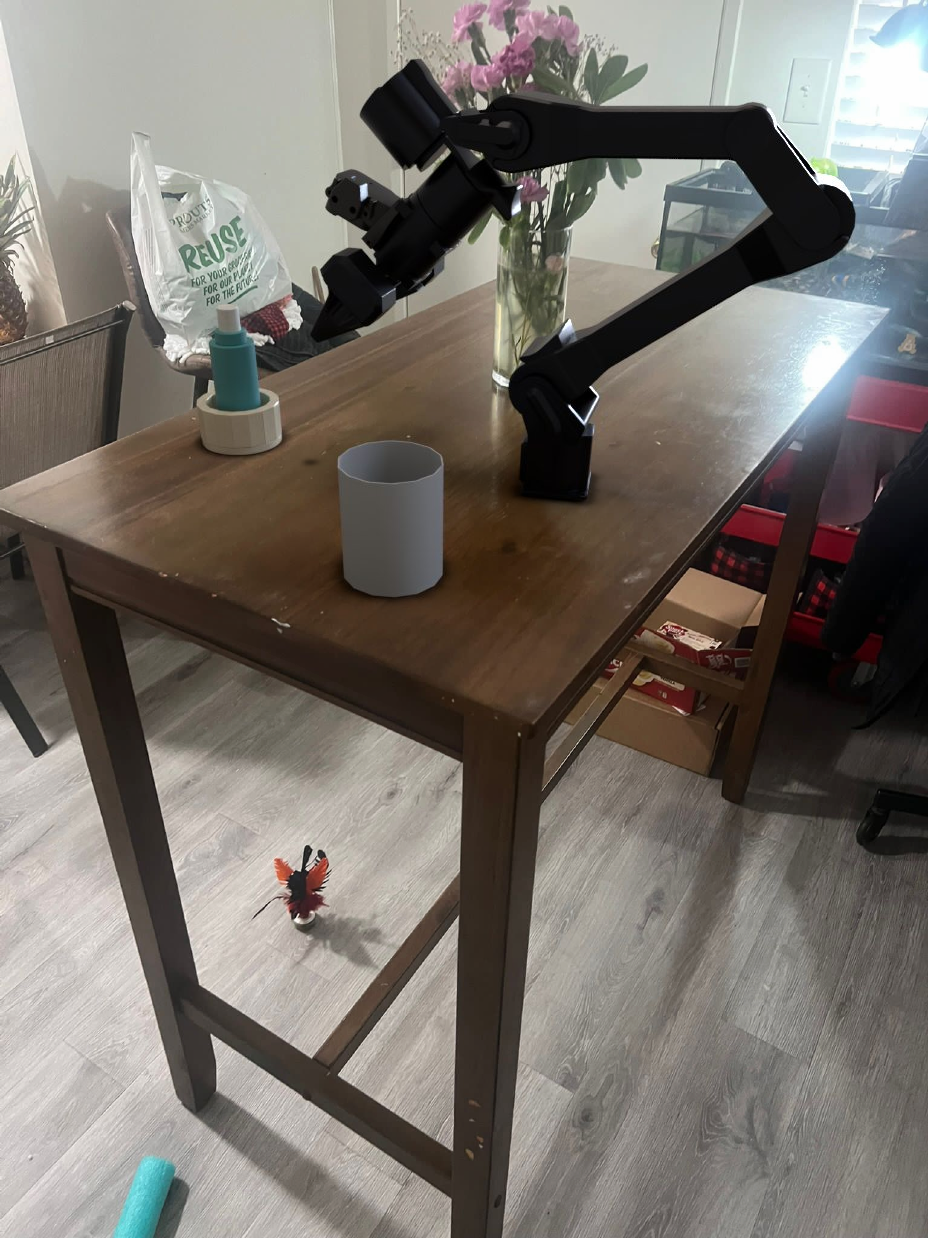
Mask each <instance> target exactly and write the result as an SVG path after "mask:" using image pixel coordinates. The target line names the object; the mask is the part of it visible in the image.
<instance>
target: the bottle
mask: <svg viewBox="0 0 928 1238" xmlns="http://www.w3.org/2000/svg"><path fill="white" fill-rule="evenodd" d="M215 310H216V311H215V312H216V318H217V325H218V326H217V327H216V328H214V330H213V334H214V337H213V338H211V339H210V340H209V341H208V349H209V357H210V358H209V359H210V364H211V372H212V379H213V380H212V381H213V386H214V390H215V395H216V403H217V410H219V411H228V412H239V411H248V410H253V409H257V408H259V407H261V402H260V393H259V388H260V385H259V376H258V375H259V374H258V365H257V355H256V347H255V345H256V344H255V340H254V338H252V337H250V336H247V329H246V328H245V327H243V326H241V318H240V310H239V305H237V304H232V303H225V304H224V303H223V304H219V305H216V307H215Z"/></svg>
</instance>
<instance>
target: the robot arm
mask: <svg viewBox="0 0 928 1238" xmlns="http://www.w3.org/2000/svg"><path fill="white" fill-rule="evenodd" d="M775 116H776V115H774V113H773V112H772V110H771V108H770V107H768V106H767V105H765V104H764V103H761V102H757V101H749V102H745V103H742V104H739V105H600V104H595V103H589V102H585V101H582V100H578V99H574V98H571V97H567V96H562V95H558V94H553V93H549V92H542V91H539V90H531V89H525V90H521V91H515V92H511V93H507V94H503V95H500V96H497V97H496V98H493V100H491V102H490V103H489V104H488V105H487V106H486V108H484V109H478V108H477V107H476V106H473V107H468V108H464V109H460V110H459V109H458V108H457V106H456V105H455V104H454V102H453V101H452V100H451V99H450V98H449V96H448V95H447V94H446V92H445V91H444V90H443V89H442V87H441V86H440V84H439V83H438V82H437V81H436V79H435V77H434V75H433V73H432V71H431V70H430V68H429V67H428V65H427V64H426V63H425V62H424V61H423V59H422V58H411V59H410V60H408V62H407V63H406V64H405V66H404V67H403V68H401V69H400V70H399V71H397V72H396V73H395V74H393V75H392V76H391V77H390V78H389V79H388V80H386V82H385V83H384V84H383V85H381V86H378V87H376V88H375V89H374V90H373V91H372V93H371V94H370V95H369V97H368V98H367V100H366V101H365V102H364V104H363V105H362V107H361V109H360V111H359V118H360V119H361V121H362V122H363V123H364V124H365V125H366V127H367V128H368V129H369V130H370V131H371V133H372V134H373V135H374V136H375V138H376V139H377V140H378V141H379V142H380V144H381V145H382V146H383V147H384V149H385V150H386V151H387V152H388V153H389V155H390V156H391V157H392V158H393V160H394V161H395V162H396V164H398V166H399V167H400V168H401V169H402V171H407V170H411V169H412V168H414V166H416V169H417V170H418V171H419V173H422V172H425V171H426V170H428V169H429V168H430V167H431V166H432V165H433V164H434V163H435V162H437V161H438V159H439V158H441V156H442V155H443V154H444V153H445V152H446V151H447V150H448V151H449V152H450V153H449V154H448V155H446V157H445V158H444V159H443V160H442V162H441V163H440V164H439V165H438V166H436V168H435V169H433V171H432V172H431V174H429V176H428V177H426V179H425V180H424V181H423V182H422V183H421V184H420V185H419V187H417V189H415V191H414V192H411V193H410V194H409V195H408V196H407V197H405V198H404V197H401V196H399V195H397V193H395V192H393V191H392V190H391V189H390V188H388V187H387V186H385V185H383V184H381V183H379V181H376V180H375V179H374V178H372V177H370V176H368V175H367V174H365V173H363V172H361V171H360V170H357V169H354V168H349V169H347V170H343V171H341V172H338V173H336V175H335V177H334V178H333V180H332V182H331V184H330V185H329V186H327V187H326V188H325V189H324V194H325V197H327V201H326V203H325V207H324V208H325V210H326V211H327V212H328V213H329V214H330V215H332V216H334V217H336V216H338V217H340V218H342V219H343V220H344V221H347V223H350V224H351V225H353V226H355V227H356V228H357V229H359V230H362V231H363V232H365V234H364V235H362V237H361V240H362V241H363V243H364V244H365V246H367V247H368V248H369V250H373V251H374V252H373V253H372V256H373V257H374V259H375V262H374V261H373V260H372V259H371V258H370V256H369V255H368V254H367V253H366V252H365V250H364V249H363V248H360V247H346V248H344V249H341V250H340V251H338V252H335V253H334V254H332V255H331V256H330V258H328V260H327V261H326V262H325V263H324V264H323V265H322V267H321V268H319V271H320V275H321V277H322V281H323V282H324V284H325V286H326V287H327V291H328V293H327V297H326V298H325V302H324V303H323V306H322V308H321V310H320V312H319V314H318V316H317V318H316V320H315V322H314V325H312V328H311V330H310V333H309V336H310V337H311V339H312V340H313V341H314V342H315V343H316V344H319V343H322V342H325V341H328V340H330V339H333V338H336V337H338V336H341V335H345V334H347V333H351V332H353V331H357V330H359V329H362V328H367V327H370V326H372V325H374V324H375V322H377V321H378V320H380V319H381V318H382V317H384V316H385V315H386V314H387V313H388V312H389V311H390V310H391V309H392V308H393V307H394V305H396V304H397V301H400V300H401V299H404V298H407V297H408V296H411V295H414V294H417V292H419V291H421V290H422V289H423V288H425V287H426V286H428V285H429V284H430V283H432V282H433V281H435V279H436V278H437V277H438V276H439V275H440V274H441V273H442V272H443V271H444V270H445V265H446V264H445V263H446V261H445V260H446V259H445V258H446V257H447V255H449V254H450V253H451V252H454V251H455V250H456V249H457V248H458V247H459V245H461V244H462V240H463V239H464V238H465V237H466V236H467V235H468V234H469V233H470V232H471V231H472V230H473V229H474V228H475V227H476V226H478V224H479V223H480V222H481V221H482V220H483V219H484V218H485V217H486V216H487V215H488V214H489V213H490V212H491V211H492V210H493V209H494V208H495V210H496V211H497V212H498V213H499V215H500V216H501V217H502V219H503V220H504V221H506V222H509V221H511V220H513V219H514V218H515V217H517V216H518V215H520V214H521V211H522V210H521V192H522V189H523V184H522V183H521V182H510V181H507V180H506V178H505V177H504V176H503V175H502V174H501V173H506V174H510V175H511V174H512V175H513V174H519V173H524V172H531V171H535V170H541V169H547V168H552V167H557V166H560V165H561V166H562V165H565V164H570V163H574V162H579V161H584V160H590V159H616V160H617V159H623V160H625V159H626V160H685V161H686V160H699V161H711V160H712V161H731V162H734V163H736V165H737V166H738V167H739V169H740V170H741V171H742V173H743V174H744V175H745V176H746V178H747V179H748V181H749V183H750V184H751V185H752V187H753V189H754V190H755V191H756V193H757V194H758V195H759V197H760V198H761V200H762V201H763V202H764V203H763V204H765V205H766V207H765V208H764V209H762V211H761V212H760V213H759V214H757V216H755V218H754V219H752V220H751V221H750V222H749V223H748V224H747V225H746V226H745V227H744V228H743V229H742V230H741V231H740V232H739V233H738V234H736V236H734V237H733V238H732V239H731V240H730V241H729V242H727V243H725V244H723V245H722V246H720V247H719V248H717V249H715V250H713V251H712V252H711V253H709V254H707V255H706V256H704V257H703V258H701V259H700V260H698V261H696V262H695V263H692V264H691V265H689V266H688V267H686V268H685V269H683V270H682V271H680V272H678V273H677V274H675V275H674V276H671V277H670V278H668V279H667V280H665V281H664V282H662V283H660V284H659V285H658V286H656V287H654V288H653V289H651V290H649V291H648V292H647V293H645V294H643V295H641V296H640V297H638V298H637V299H634V300H633V301H632V302H630V303H628V304H627V305H625V306H624V307H622V308H620V309H618V310H617V311H615V312H614V313H613V314H610V315H609V316H608V317H606V318H605V319H603V320H602V321H600V322H598V323H596V324H594V325H592V326H588V327H585V328H582V329H577V330H575V329H574V326H573V324H572V321H571V319H570V318H566V319H565V320H564V321H563V322H562V323H560V325H558V326H557V327H556V328H555V329H554V330H553V331H551V332H550V333H547V334H546V335H542V336H537V337H535V338H534V339H533V341H532V342H531V343H530V344H529V345H528V347H527V348H526V349H525V350H524V351H523V353H522V354H521V355H520V356H519V358H518V360H519V361H520V363H519V365H518V366H517V367H516V368H515V369H514V371H513V372H512V373H511V375H510V377H509V381H508V386H507V391H508V399H509V401H510V403H511V405H512V407H513V408H514V409H515V410H516V412H518V414H519V415H521V417H522V420H523V424H524V428H525V430H526V433H524V435H523V438H522V440H521V443H520V454H519V471H518V481H520V482H521V483H522V485H521V491H520V492H521V494H522V495H523V496H533V497H543V498H553V499H561V500H572V501H587V500H588V495H589V489H590V482H591V475H592V471H591V470H590V469H591V462H592V461H591V460H592V452H593V443H594V435H595V424H594V423H592V422H591V423H590V421H591V418H592V416H593V415H594V413H595V410H596V408H597V407H598V404H599V402H600V401H601V397H600V395H599V394H598V392H597V391H596V390H595V389H594V388H593V387H592V385H593V384H594V383H596V382H597V380H599V379H600V378H601V376H603V375H604V374H605V373H606V372H607V371H608V370H610V369H611V368H612V367H613V368H614V366H616V365H618V364H620V363H622V361H624V360H626V359H628V358H630V357H631V356H633V355H635V354H637V353H638V352H640V351H641V350H644V349H645V348H647V347H648V346H650V345H652V344H653V343H655V342H657V341H659V340H660V339H663V337H665V336H667V335H669V334H671V333H672V332H674V331H675V330H677V329H679V328H680V327H683V326H684V325H686V324H688V323H689V322H691V321H693V320H694V319H696V318H698V317H699V316H701V315H703V314H705V313H706V312H708V311H709V310H712V309H713V308H715V307H717V306H718V305H720V304H721V303H723V302H725V301H727V300H728V299H731V298H732V297H734V296H735V295H737V294H739V293H740V292H742V291H744V290H745V289H748V288H749V287H751V286H754V285H757V284H761V283H763V282H769V281H771V280H772V281H773V280H775V279H779V278H783V277H787V276H790V275H793V274H795V273H798V272H800V271H803V270H806V269H808V268H811V267H814V266H816V265H818V264H821V263H825V262H827V261H828V260H830V259H833V258H834V257H835V256H837V255H838V254H839V253H840V252H842V251H843V250H844V249H845V248H846V246H847V245H848V244H849V242H850V240H851V238H852V235H853V232H854V230H855V227H856V217H857V214H856V213H857V212H856V208H855V206H854V202H853V199H852V196H851V194H850V191H849V190H848V188H847V186H846V185H845V184H844V182H843V181H841V180H840V179H838V178H836V177H835V176H833V175H829V174H825V173H820V172H819V173H818V172H817V171H816V170H815V169H814V168H813V166H812V164H811V163H810V162H809V161H808V159H807V157H805V156H804V155H803V153H802V152H801V151H800V149H799V148H798V147H797V146H796V145H795V144H794V142H793V141H792V140H791V139H790V138H789V136H788V135H787V134H786V133H785V131H784V130H783V129H782V128H781V126H780V125H779V124H778V123H777V121H776V117H775ZM474 152H477V153H480V154H482V155H483V158H482V159H480V158H479V157H478V156H477V155H476V154H475V153H474Z"/></svg>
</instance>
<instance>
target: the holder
mask: <svg viewBox="0 0 928 1238" xmlns="http://www.w3.org/2000/svg"><path fill="white" fill-rule="evenodd" d="M259 393H260V402H261V407H259V408H257V409H253V410H248V411H239V412H228V411H219V410H217V403H216V395H215V389H214V390H211V391H209V392H206V393H204V394H202V395H201V396H200V397H198V398H197V399H196V411H197V418H198V425H199V426H198V427H199V432H200V438H201V443H202V445H203V446H204V448H205V449H207V450H208V451H210V452H213V453H217V454H219V455H227V456H246V455H254V454H259V453H263V452H267V451H270V450H271V449H273V448H275V447H277V446H278V445H279V444H280V443H281V442H282V440H283V431H282V430H283V429H282V419H281V418H282V417H281V409H280V408H281V407H280V399H279V395H278V394H277V393H275V392H273V391H272V390H269V389H265V388H262V387H259Z"/></svg>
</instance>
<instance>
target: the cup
mask: <svg viewBox="0 0 928 1238" xmlns="http://www.w3.org/2000/svg"><path fill="white" fill-rule="evenodd" d="M444 468H445V467H444V459H443V455H442V454H440V452H437V451H436V450H435V449H434V448H432V447H431V446H426V445H423V444H420V443H416V442H413V441H403V440H380V441H371V442H365V443H362V444H359V445H356V446H352V447H349V448H348V449H346V450H345V451H343V453H341V454H340V455H339V456H338V457H337V481H338V482H337V483H338V497H339V514H340V516H339V517H340V528H341V529H340V530H341V531H340V532H341V546H342V561H343V562H342V564H343V565H342V566H343V579H344V580H345V581H346V582H347V583H349V585H350V586H351V587H352V588H353V589H355V590H357V591H360V592H361V593H365V594H367V595H370V596H376V597H387V598H400V597H405V596H413V595H418V594H420V593H422V592H425V591H426V590H428V589H430V588H433V587H434V586H436V584H437V583H438V582H439V580H440V579H441V578H442V576H443V572H444V571H443V570H444V569H443V568H444V566H443V565H444V564H443V563H444V561H443V560H444Z"/></svg>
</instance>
